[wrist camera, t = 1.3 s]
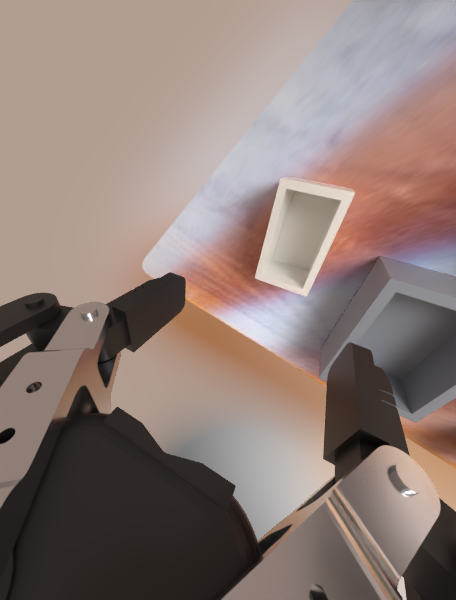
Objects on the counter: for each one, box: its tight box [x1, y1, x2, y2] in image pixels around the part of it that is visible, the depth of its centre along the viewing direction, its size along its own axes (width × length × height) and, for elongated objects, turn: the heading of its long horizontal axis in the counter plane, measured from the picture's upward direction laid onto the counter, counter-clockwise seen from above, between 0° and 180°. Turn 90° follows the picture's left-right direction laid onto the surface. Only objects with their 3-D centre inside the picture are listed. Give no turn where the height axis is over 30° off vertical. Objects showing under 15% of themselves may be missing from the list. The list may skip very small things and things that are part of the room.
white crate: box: [255, 177, 355, 297], centre depth 21 cm, size 6×10×6 cm, turn 171°
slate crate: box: [319, 256, 456, 422], centre depth 22 cm, size 11×15×6 cm
